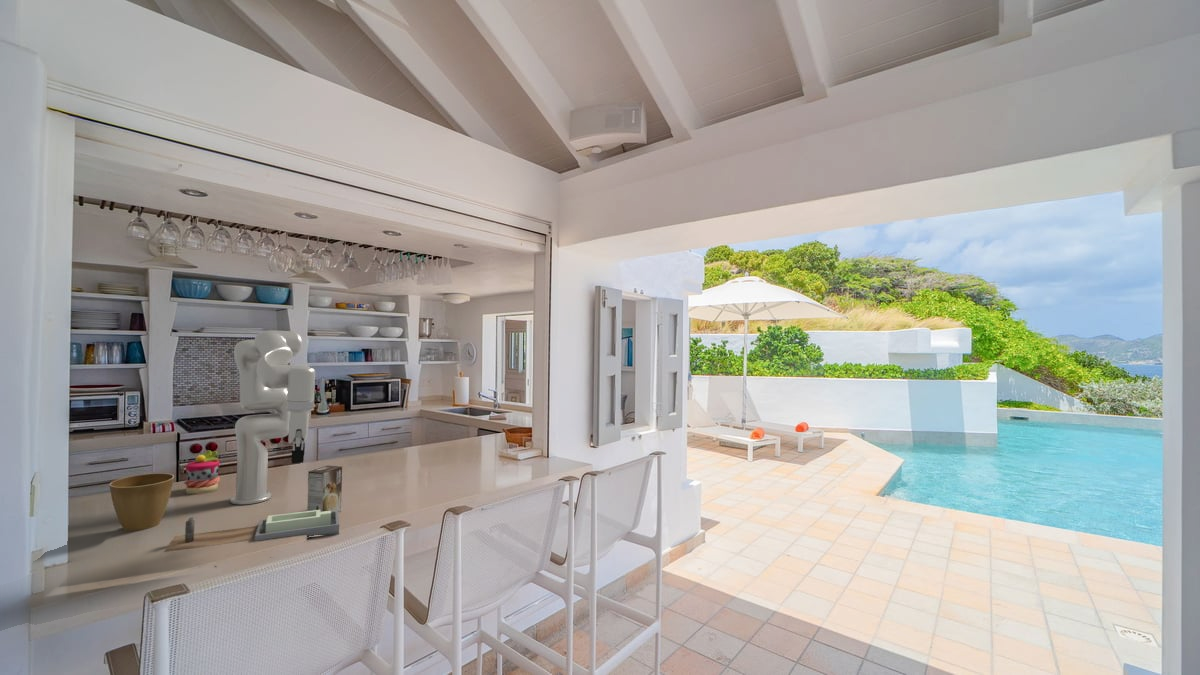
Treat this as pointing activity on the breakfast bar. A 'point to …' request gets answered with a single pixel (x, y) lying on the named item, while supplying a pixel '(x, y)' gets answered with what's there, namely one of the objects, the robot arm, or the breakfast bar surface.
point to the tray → (310, 531)
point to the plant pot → (141, 499)
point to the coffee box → (325, 489)
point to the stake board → (208, 537)
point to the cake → (202, 474)
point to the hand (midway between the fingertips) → (298, 459)
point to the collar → (297, 520)
